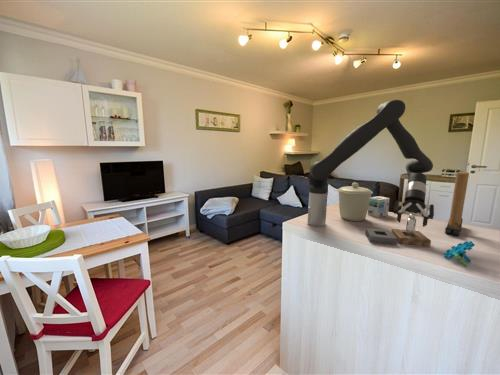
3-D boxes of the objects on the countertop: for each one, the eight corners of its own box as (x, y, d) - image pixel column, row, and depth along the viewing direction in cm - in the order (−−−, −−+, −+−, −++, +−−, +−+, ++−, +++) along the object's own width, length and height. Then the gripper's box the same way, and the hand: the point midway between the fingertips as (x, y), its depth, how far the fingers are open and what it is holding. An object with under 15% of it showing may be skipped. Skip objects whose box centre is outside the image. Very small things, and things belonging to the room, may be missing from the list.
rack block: (399, 244, 94) (400, 237, 93) (390, 234, 104) (391, 228, 104) (429, 247, 91) (430, 240, 90) (418, 237, 101) (418, 231, 101)
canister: (376, 223, 119) (380, 185, 116) (342, 223, 120) (345, 185, 116) (360, 214, 137) (363, 180, 133) (331, 213, 137) (333, 180, 134)
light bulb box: (377, 217, 130) (379, 199, 128) (366, 214, 136) (368, 197, 134) (388, 215, 135) (390, 197, 133) (377, 212, 141) (379, 195, 139)
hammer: (458, 241, 102) (468, 179, 93) (443, 238, 105) (452, 178, 96) (462, 224, 115) (472, 167, 106) (449, 221, 118) (457, 167, 109)
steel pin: (406, 241, 97) (409, 215, 95) (403, 238, 100) (406, 213, 98) (414, 242, 96) (418, 215, 94) (411, 239, 99) (415, 213, 97)
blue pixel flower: (444, 247, 88) (472, 236, 81) (457, 260, 86) (487, 250, 79) (438, 259, 81) (468, 249, 74) (452, 274, 79) (484, 264, 72)
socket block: (370, 242, 96) (370, 236, 95) (365, 234, 105) (365, 228, 105) (396, 245, 93) (397, 238, 92) (388, 236, 102) (389, 230, 102)
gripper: (397, 186, 104) (391, 216, 97) (436, 190, 96) (433, 222, 89) (396, 196, 109) (391, 224, 102) (434, 200, 101) (431, 231, 94)
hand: (411, 223), depth 96 cm, fingers open, 8 cm apart
